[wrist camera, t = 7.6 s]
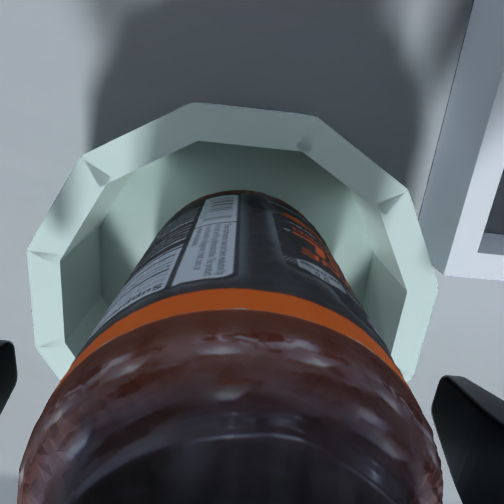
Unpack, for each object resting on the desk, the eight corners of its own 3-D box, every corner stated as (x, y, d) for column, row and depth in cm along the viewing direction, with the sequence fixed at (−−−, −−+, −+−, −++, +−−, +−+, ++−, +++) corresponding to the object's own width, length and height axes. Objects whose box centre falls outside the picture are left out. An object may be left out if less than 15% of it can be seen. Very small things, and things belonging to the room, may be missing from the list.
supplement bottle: (359, 289, 14) (726, 882, 3) (221, 374, 15) (173, 1022, 5) (260, 144, 12) (385, 441, 2) (111, 252, 13) (-397, 853, 3)
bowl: (414, 125, 13) (482, 134, 9) (352, 393, 17) (384, 477, 13) (81, 88, 13) (11, 82, 9) (91, 373, 16) (45, 455, 12)
